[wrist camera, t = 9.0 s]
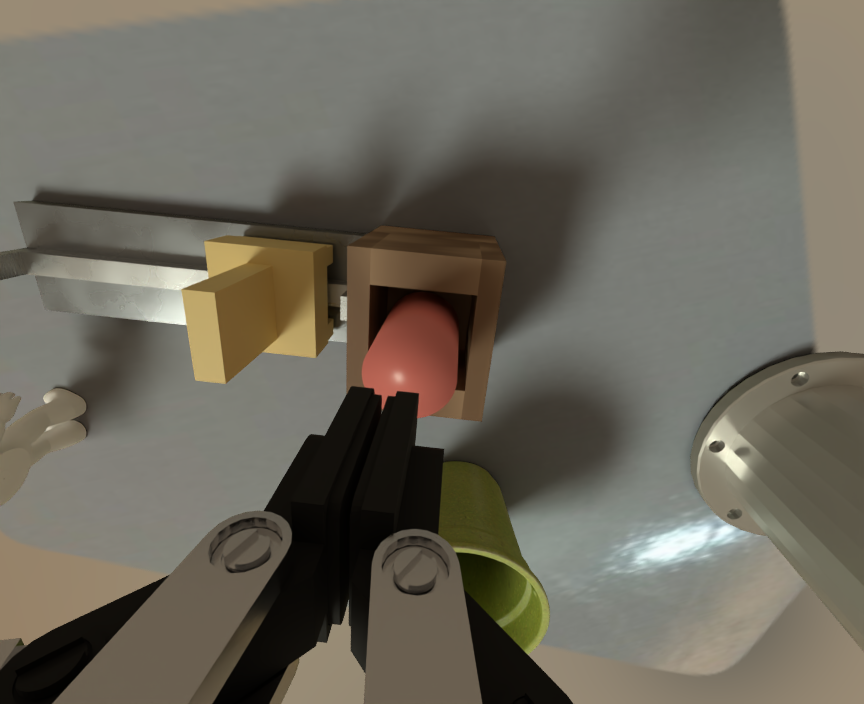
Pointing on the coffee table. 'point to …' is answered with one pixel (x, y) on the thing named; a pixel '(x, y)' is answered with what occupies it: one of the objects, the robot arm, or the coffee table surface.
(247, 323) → the carriage
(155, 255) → the rail
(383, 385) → the plunger
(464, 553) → the plant pot
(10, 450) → the flower shoulder figurine
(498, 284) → the wooden box
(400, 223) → the coffee table surface
